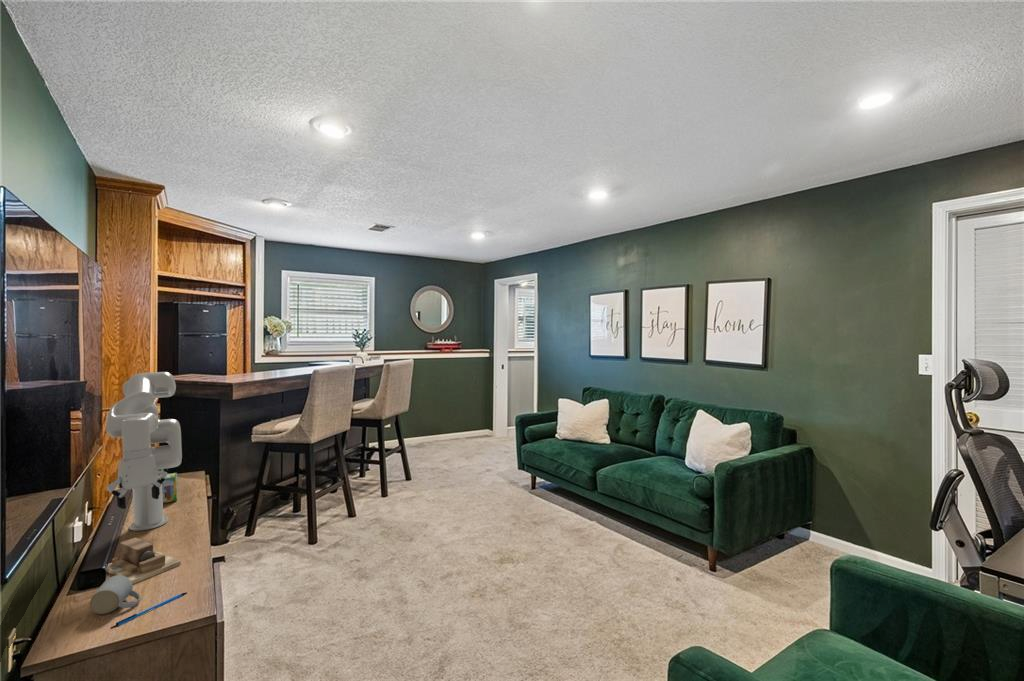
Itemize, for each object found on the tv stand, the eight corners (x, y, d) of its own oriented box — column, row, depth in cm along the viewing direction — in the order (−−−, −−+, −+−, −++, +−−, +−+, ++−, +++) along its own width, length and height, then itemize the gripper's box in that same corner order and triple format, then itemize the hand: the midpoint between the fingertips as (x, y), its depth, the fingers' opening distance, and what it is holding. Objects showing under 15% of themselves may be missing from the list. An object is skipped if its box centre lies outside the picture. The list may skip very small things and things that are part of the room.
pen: (110, 629, 128) (109, 625, 128) (186, 593, 144) (186, 589, 144) (111, 630, 127) (111, 626, 127) (188, 594, 144) (188, 590, 144)
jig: (102, 569, 159) (101, 557, 159) (150, 551, 171) (150, 540, 171) (132, 584, 149) (131, 571, 149) (180, 564, 162) (180, 552, 162)
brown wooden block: (120, 559, 163) (119, 542, 163) (136, 554, 167) (135, 537, 167) (141, 569, 156) (140, 551, 156) (156, 563, 160) (155, 545, 160)
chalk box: (176, 501, 221) (175, 470, 221) (152, 505, 217) (150, 473, 216) (179, 495, 229) (177, 465, 229) (155, 499, 225) (154, 468, 224)
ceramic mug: (87, 618, 132) (86, 591, 132) (102, 602, 140) (102, 576, 140) (133, 611, 135) (132, 585, 135) (145, 596, 143) (145, 571, 143)
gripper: (160, 446, 172) (162, 493, 173) (100, 458, 157) (103, 509, 158) (171, 449, 168) (173, 496, 169) (111, 461, 153) (113, 514, 154)
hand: (139, 503), depth 163 cm, fingers open, 9 cm apart
